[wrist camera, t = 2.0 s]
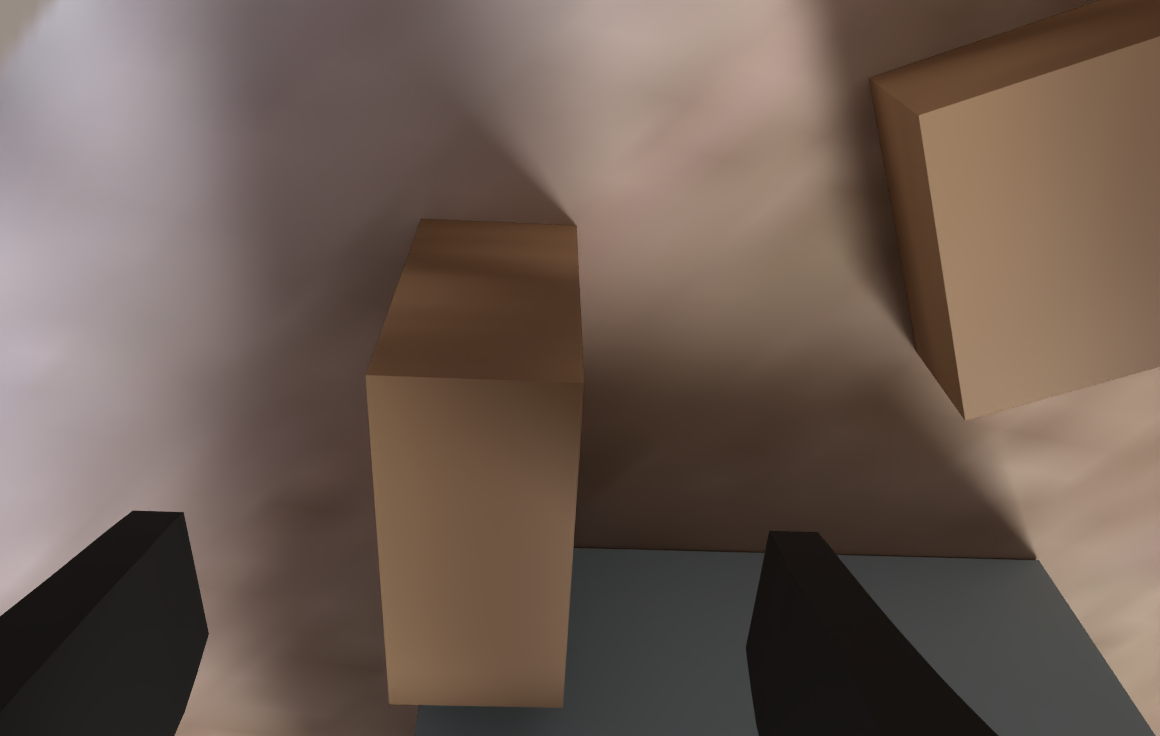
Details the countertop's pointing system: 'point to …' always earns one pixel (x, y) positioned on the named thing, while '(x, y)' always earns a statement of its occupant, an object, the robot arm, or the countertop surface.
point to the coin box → (721, 626)
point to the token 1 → (478, 463)
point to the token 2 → (1030, 204)
